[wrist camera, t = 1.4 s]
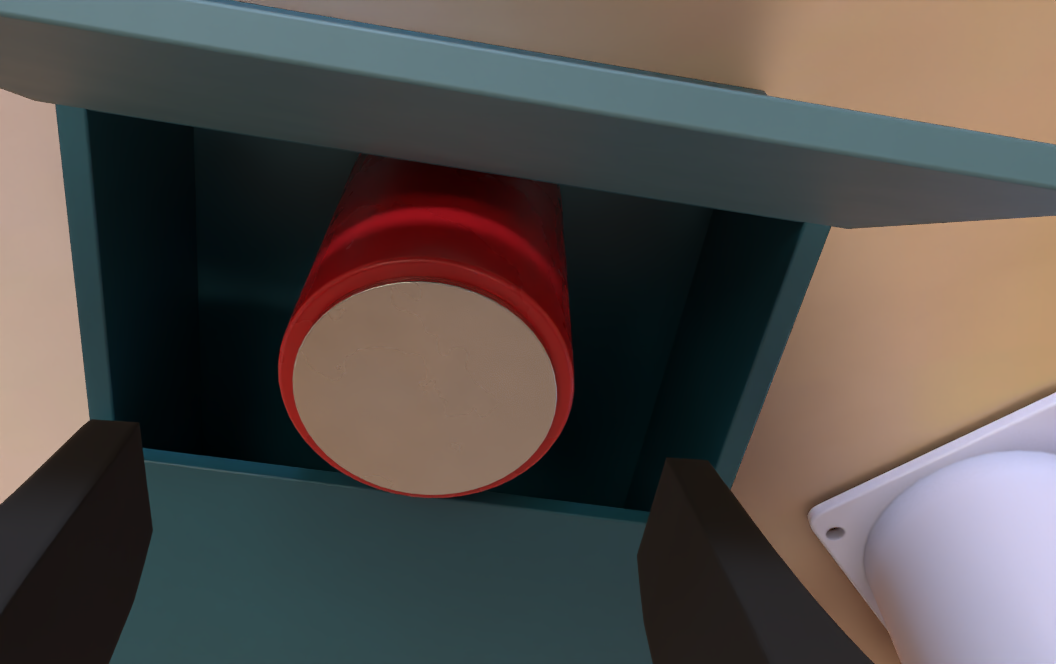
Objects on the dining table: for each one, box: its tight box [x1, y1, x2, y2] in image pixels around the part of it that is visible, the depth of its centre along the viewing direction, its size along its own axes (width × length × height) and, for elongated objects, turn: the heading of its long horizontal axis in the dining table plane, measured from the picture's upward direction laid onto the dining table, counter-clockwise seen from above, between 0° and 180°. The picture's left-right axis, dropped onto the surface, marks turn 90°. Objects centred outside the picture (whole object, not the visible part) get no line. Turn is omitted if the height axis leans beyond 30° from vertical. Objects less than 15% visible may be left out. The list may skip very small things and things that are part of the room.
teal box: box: [55, 0, 831, 664], centre depth 21 cm, size 14×13×7 cm
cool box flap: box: [0, 0, 1056, 229], centre depth 11 cm, size 7×13×1 cm
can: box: [278, 153, 574, 498], centre depth 19 cm, size 5×5×8 cm
